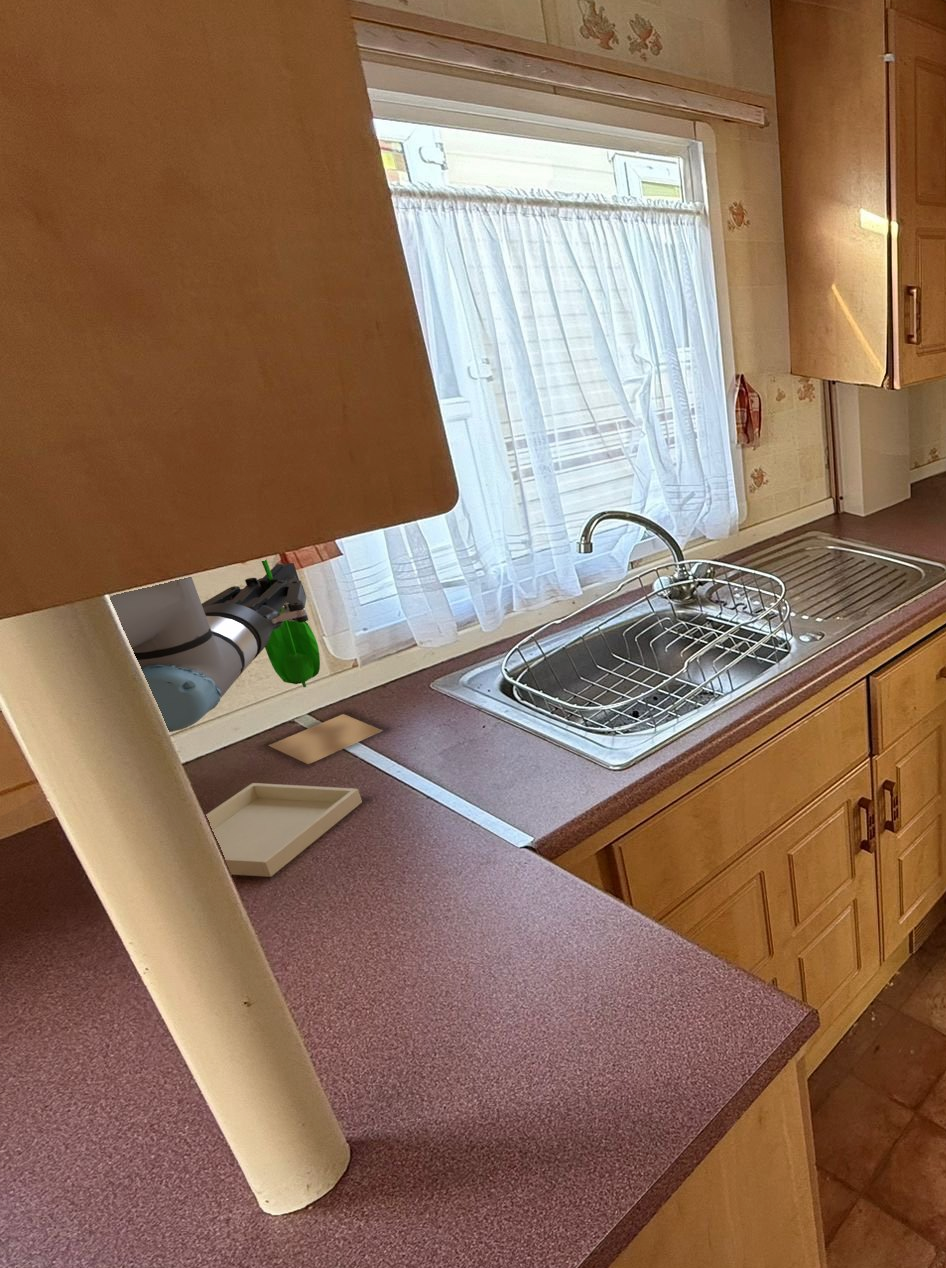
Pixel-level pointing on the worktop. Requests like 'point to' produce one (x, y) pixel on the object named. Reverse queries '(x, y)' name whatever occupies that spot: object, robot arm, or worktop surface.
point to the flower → (293, 649)
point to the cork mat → (325, 738)
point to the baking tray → (276, 823)
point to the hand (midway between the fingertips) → (288, 572)
